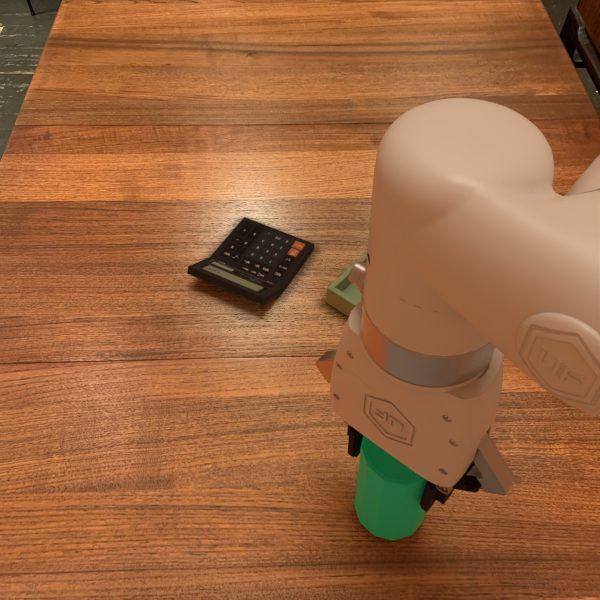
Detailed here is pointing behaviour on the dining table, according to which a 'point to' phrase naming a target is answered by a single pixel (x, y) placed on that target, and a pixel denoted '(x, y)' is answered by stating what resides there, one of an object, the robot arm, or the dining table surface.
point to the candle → (387, 494)
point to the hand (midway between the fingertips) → (397, 467)
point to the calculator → (254, 261)
